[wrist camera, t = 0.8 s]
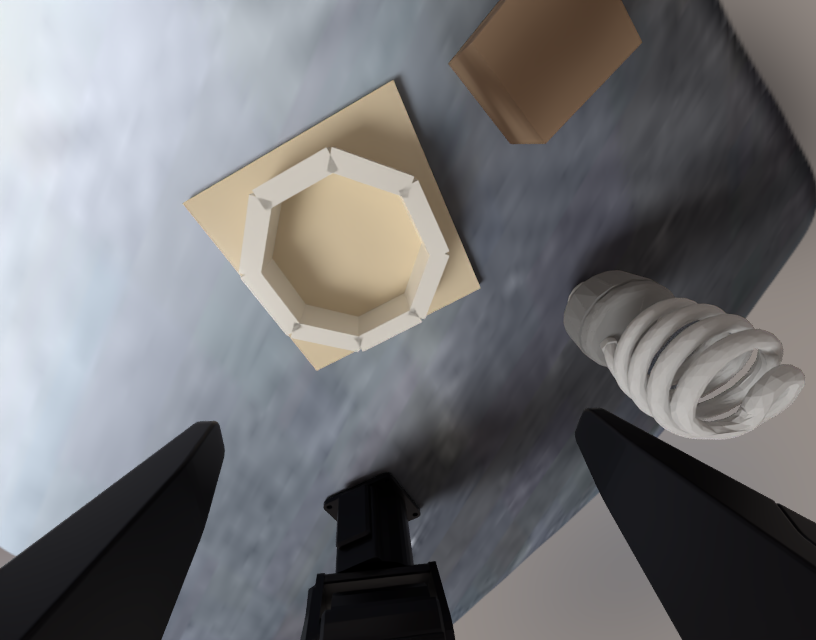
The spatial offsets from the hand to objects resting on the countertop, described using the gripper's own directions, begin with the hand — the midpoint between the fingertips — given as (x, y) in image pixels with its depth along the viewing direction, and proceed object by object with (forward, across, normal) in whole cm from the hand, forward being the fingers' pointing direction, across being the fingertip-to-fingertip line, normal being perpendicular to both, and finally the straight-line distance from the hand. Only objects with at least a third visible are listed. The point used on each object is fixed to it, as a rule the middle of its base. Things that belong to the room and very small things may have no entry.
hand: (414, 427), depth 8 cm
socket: (+14, +2, -1) cm, 14 cm away
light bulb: (+14, -14, +2) cm, 19 cm away
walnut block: (+14, -6, -10) cm, 18 cm away
